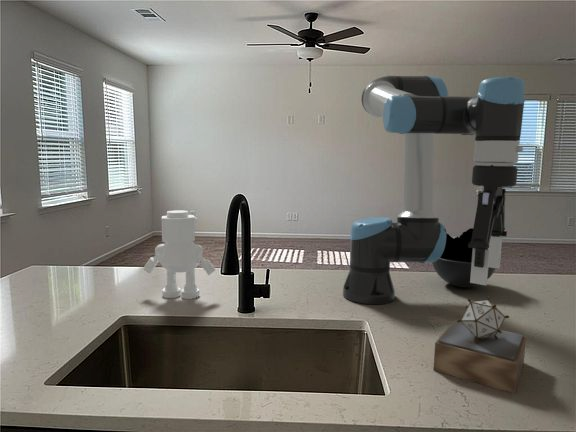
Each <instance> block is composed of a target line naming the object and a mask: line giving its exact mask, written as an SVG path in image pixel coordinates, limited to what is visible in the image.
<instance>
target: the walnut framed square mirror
mask: <svg viewBox="0 0 576 432" xmlns="http://www.w3.org/2000/svg"><path fill="white" fill-rule="evenodd" d="M457 320H458V319H457ZM457 320H456V319H455V320H452V322H451V323H450V324H449V326H447V328H446V329H445V331H444V332H443V333H442V334H441V335H440V336H439V338H437V340H436V341H435V344H434V357H433V360H434V361H433V371H436V372H438V373H442V374H446V375H449V376H452V377H456V378H459V379H463V380H466V381H469V382H470V381H471V382H473V383H478V384H480V385H485V386H486V387H487V386H488V387H491V388H494V389H498V390H502V391H505V392H508V393H512V394H515V393H516V388H517V386H518V382H519V379H520V377H521V373H522V370H523V366H524V363H525V354H526V344H527V343H526V342H527V336H525V335H524V334H521V333H517V332H513V331H512V332H511V331H509V330H503V329H499V330H500V331H501V332H502V333H499V332H498V333H497V334H496V336H497V337H498V339H495V338H494V336H493V337H486V338H479V339H478V342H477V343H476V341H475V340H476V337H475V336H474V335H473V334H472V333H471V332H470V331H469V330H468V328H467V327H466V326H465V325H464V324H463V323H462V322H459V323H458V322H457Z"/></svg>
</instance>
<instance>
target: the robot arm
mask: <svg viewBox="0 0 576 432" xmlns="http://www.w3.org/2000/svg"><path fill="white" fill-rule="evenodd" d="M525 86H526V85H525V80H523V79H522V78H520V77H516V76H498V77H491V78H486V79H484V80H482V81H481V82H480V83H479V87H478V92H477V96H458V95H457V96H454V95H453V96H452V95H451V96H450V95H449V91H448V88H447V84H446V82H445V81H444V80H443V79H442V78H440V77H437V76H430V75H421V76H420V75H417V76H416V75H413V76H412V75H408V76H407V75H386V76H382V77H379V78H376V79H374V80H372V81H370V82H369V83H368V84H367V85H365V87H364V89H363V91H362V93H361V105H362V107H363V109H364V111H366V112H367V113H368V114H369V115H371V116H373V117H376V118H382V124H383V126H384V130H385V131H386V132H387V133H391V134H399V135H403V157H402V158H403V163H402V164H403V165H402V167H403V168H402V169H403V172H402V176H403V177H402V211H401V212H400V213H399V214H398V215H397V219H396V220H397V221H396V222H393V220H392V218H390V217H386V216H385V217H384V216H382V217H380V216H378V217H377V216H376V217H375V216H374V217H366V218H362V219H358V220H356V221H354V222H353V223H352V224H351V229H350V236H349V239H350V246H349V247H350V248H349V249H350V250H349V254H350V255H349V271H348V274H347V276H346V279H345V282H344V284H343V289H342V295H343V297H344V298H345V299H346V300H349V301H351V302H353V303H354V302H355V303H358V304H363V305H364V304H365V305H366V304H367V305H384V304H388V303H391V302H393V301H394V300H395V297H396V296H395V294H396V292H395V286H394V284H393V283H394V282H393V280H392V276H391V269H390V268H391V267H390V266H391V263H419V264H425V263H432V262H435V261H437V260H438V259H439V258H440V257H441V255H442V254H443V251H444V249H445V244H446V233H447V231H446V232H445V229H446V227H445V225H444V224H443V223H442V222H439V219H440V218H439V216H438V215H437V214H436V212H434V188H435V187H434V186H435V185H434V183H435V181H434V177H435V175H434V174H435V172H434V170H435V163H434V162H435V135H438V134H440V135H443V134H444V135H461V136H475V137H474V146H473V159H472V161H473V162H474V163H475V164H476V165H473V167H472V174H471V177H472V178H471V183H472V185H473V186H477V187H478V186H481V187H483V190H482V192H481V191H480V192H478V194H477V198H478V199H477V205H476V211H475V218H474V223H473V227H472V228H473V233H472V238H471V242H470V243H469V242H468V247H469V248H473V251H472V264H471V277H470V283H475V284H479V285H481V286H487V285H488V280H487V278H488V267H490V268H496V269H497V270H499V269H500V267H501V258H502V245H503V237H506V238H507V234H508V231H505V229H506V227H505V224H506V223H505V221H506V220H505V217H506V216H505V215H506V211H505V210H506V209H505V207H506V206H505V205H506V203H505V202H506V192H507V190H506V188H512V187H515V186H516V185H517V179H518V169H519V168H517V166H515V165H514V164H517V163H519V153H521V152H523V151H524V147H523V146H521V145H520V141H521V134H522V124H523V117H524V109H525V103H526V99H525V98H526V97H525Z"/></svg>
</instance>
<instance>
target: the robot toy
mask: <svg viewBox="0 0 576 432" xmlns="http://www.w3.org/2000/svg"><path fill="white" fill-rule="evenodd" d="M198 225H199V219H198V217H197V216H195V214H194V215H193V214H189V210H183V209H181V210H179V209H178V210H174V209H173V210H167V211H166V215H162V216H161V242H162V243H160V244H157V246H156V247H155V248H154V252H155V255H154V256H152V257H151V256H150V258H149V259H148V260H147V262H146V263H145V264H144V267H143V271H145V273H148V274H151V273H152V272H153V270H154V269H155V268H156V266H158V263H159V264H160V265H161V267H162V268H163V269H165V270H166V283H165V286H164V288H162V297H163V298H165V299H175V298H179V297H180V296H181V297H180V298H182V299H185V300H192V298H194V299H197V298H199V297H200V296H199V295H200V288H198V286H197V284H196V278H195V275H196V273H195V270H196V268H197V267H198V266H199V264H200V266H201V267H202V269H203V270H204V271H205V272H206V274H207V275H208V276H210V275H211V274H212V273H214V272H215V271H216V268H215V266H214V265H213V263H212V262H211V261H210V260H209V259H208V258H206V259H205V258H204V256H203V253H204V249H203V247H202V246H201V245H200V244H198V243H194V241H196V234H195V232H196V230H195V228H196V226H198ZM177 273H185V284H184V286H183V288H182V289H181V287H179V286H178V285H179V284H178V282H177V275H176V274H177ZM198 296H199V297H198ZM196 297H197V298H196Z"/></svg>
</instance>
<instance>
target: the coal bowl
mask: <svg viewBox="0 0 576 432" xmlns="http://www.w3.org/2000/svg"><path fill="white" fill-rule="evenodd" d="M445 232H446V244H445V249H444V251H443V254H442V255H441V257H440V258H439V259H438V260H437V261H435V262H431V264H432V267H433V269H434V271H435V272H436V275H438V276H439V277H440V278H441V279H442V280H443V281H444V282H446V283H448V284H450V285H452V286H455V287H459V288H472V287H477V286H479V285H480V284H475V283H470V277H471V264H472V251H473V248H469V247H468V242H469V243H470V242H471V238H472V233H473V227H470V228H468V229H467V230H465V231H463V232H462V233H461V234H460V235H459V236H455V238H454V237H452V236H451V235H450V234H449V233H447V229H446V228H445ZM496 269H497V268H490V267H488V278H487V281H488V280H489V279H490V278H491V276H492V275H494V272H495V271H496Z"/></svg>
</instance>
